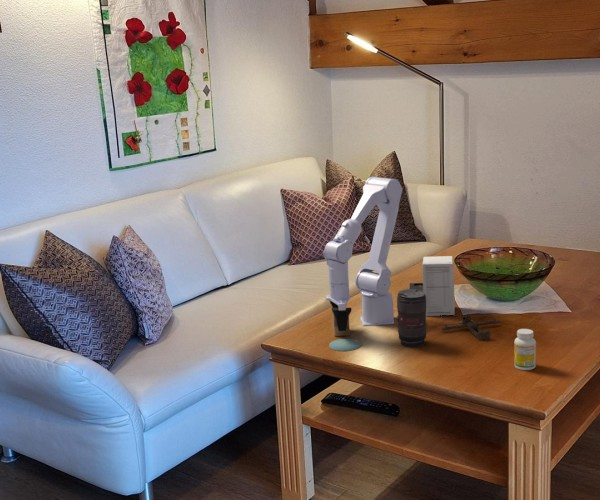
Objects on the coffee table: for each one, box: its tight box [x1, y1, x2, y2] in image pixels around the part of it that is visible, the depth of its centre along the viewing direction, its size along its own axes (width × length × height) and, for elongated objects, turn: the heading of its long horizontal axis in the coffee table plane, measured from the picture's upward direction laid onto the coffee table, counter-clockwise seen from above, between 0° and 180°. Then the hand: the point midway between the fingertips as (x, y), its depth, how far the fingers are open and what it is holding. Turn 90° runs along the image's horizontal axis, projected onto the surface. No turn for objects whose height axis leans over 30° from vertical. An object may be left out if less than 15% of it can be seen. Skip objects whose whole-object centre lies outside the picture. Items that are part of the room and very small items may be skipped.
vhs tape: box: [408, 282, 423, 291], centre depth 277 cm, size 14×8×2 cm, turn 172°
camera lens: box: [396, 288, 427, 348], centre depth 231 cm, size 8×8×15 cm
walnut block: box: [331, 312, 351, 337], centre depth 243 cm, size 4×4×7 cm
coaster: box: [328, 338, 362, 352], centre depth 234 cm, size 9×9×1 cm
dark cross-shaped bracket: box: [441, 314, 501, 341], centre depth 239 cm, size 18×4×14 cm
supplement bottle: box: [513, 328, 537, 371], centre depth 211 cm, size 5×5×10 cm
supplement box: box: [421, 255, 456, 317], centre depth 256 cm, size 10×9×17 cm
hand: (341, 326), depth 243 cm, fingers open, 7 cm apart
